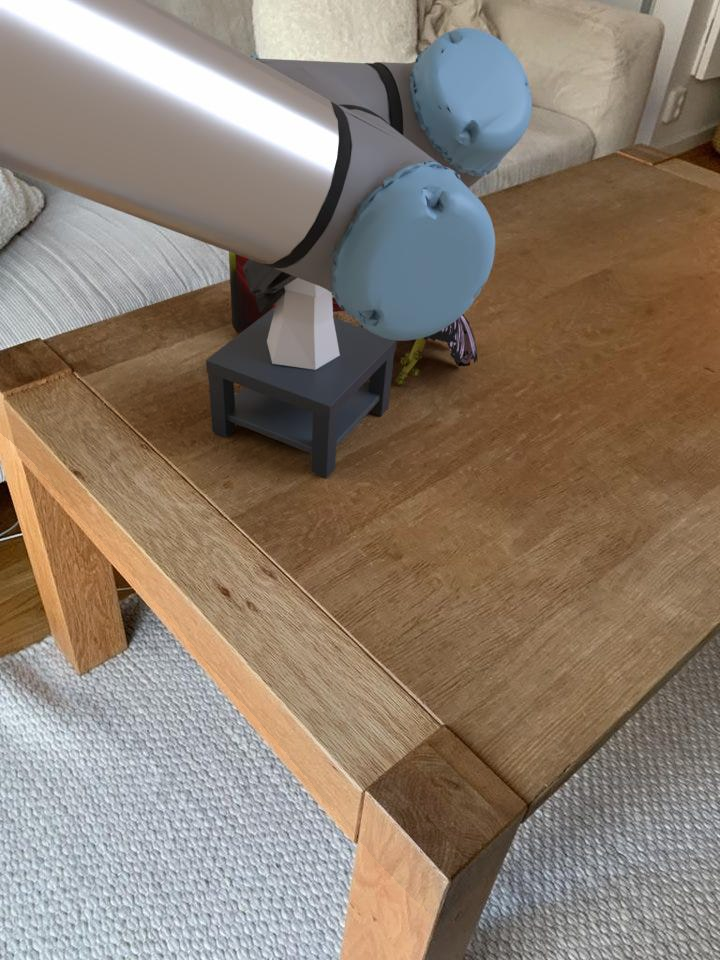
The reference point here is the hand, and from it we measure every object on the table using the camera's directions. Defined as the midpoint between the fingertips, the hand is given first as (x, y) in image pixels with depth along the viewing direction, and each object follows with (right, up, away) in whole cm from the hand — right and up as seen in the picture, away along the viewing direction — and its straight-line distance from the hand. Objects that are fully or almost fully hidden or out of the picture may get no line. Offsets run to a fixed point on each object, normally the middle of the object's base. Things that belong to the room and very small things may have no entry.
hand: (290, 293), depth 82 cm
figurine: (+1, -6, +1) cm, 6 cm away
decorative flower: (+14, -6, +16) cm, 21 cm away
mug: (-3, +2, +22) cm, 23 cm away
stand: (+1, -12, +7) cm, 14 cm away
